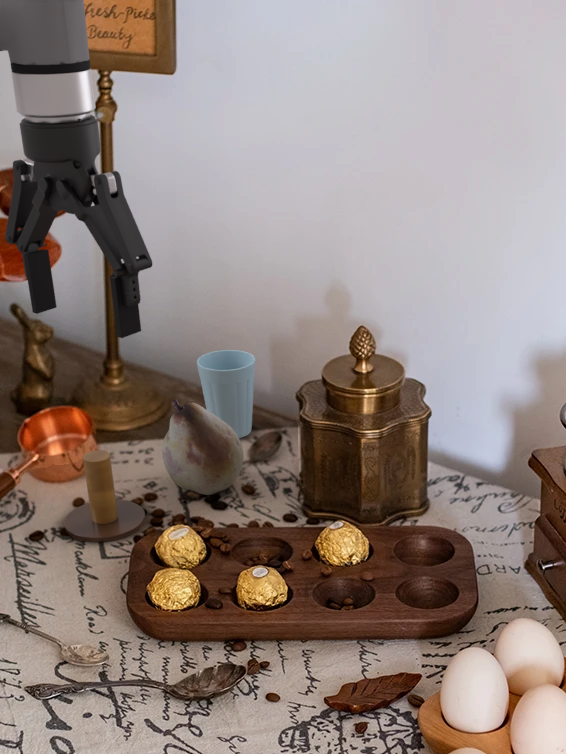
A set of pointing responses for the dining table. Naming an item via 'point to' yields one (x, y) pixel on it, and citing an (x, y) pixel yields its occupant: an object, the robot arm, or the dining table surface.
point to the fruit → (201, 450)
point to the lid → (102, 505)
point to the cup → (229, 387)
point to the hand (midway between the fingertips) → (85, 322)
